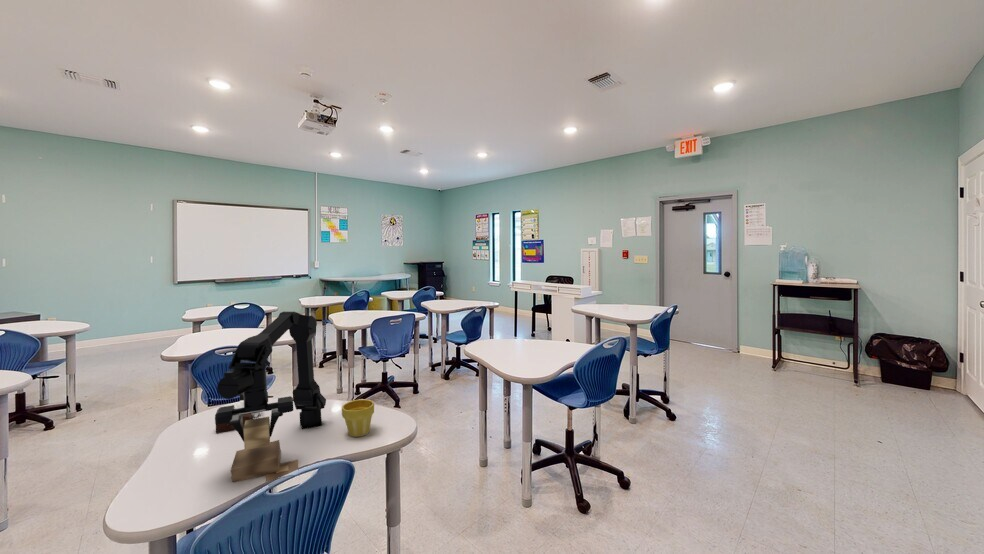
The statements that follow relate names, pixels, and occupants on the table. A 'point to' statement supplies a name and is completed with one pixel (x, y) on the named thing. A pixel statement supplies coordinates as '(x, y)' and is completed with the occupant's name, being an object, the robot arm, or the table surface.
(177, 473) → the table surface
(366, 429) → the plant pot
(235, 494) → the table surface
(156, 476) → the table surface
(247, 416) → the brick
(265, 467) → the tan flat square block
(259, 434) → the oak cube
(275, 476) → the swatch
